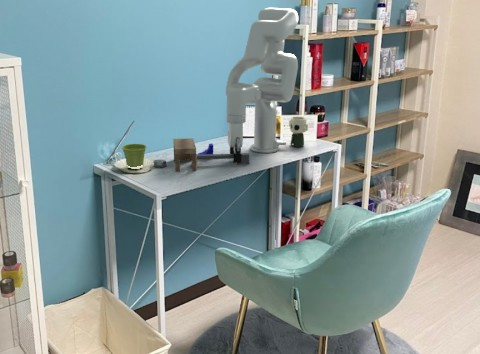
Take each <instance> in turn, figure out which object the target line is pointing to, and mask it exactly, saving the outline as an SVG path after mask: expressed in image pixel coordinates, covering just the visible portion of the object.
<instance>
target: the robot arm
mask: <svg viewBox="0 0 480 354" xmlns="http://www.w3.org/2000/svg"><path fill="white" fill-rule="evenodd" d="M298 22H299V15H298V12H297V11H296V10H295V9H292V8H279V7H267V8H262V9H260V10H259V11H258V17H257V20H256V21H254V22H252V24H251V25H250V30H249V32H248V33H249V34H248V37H247V41H246V47H245V50H244V55H243V57H241V58H240V59H239V60H238V62H236V63H235V65H234V66H233V67H232V69H230V72H229V74H228V78H227V81H226V86H225V95H226V123H228V124H227V125H228V126H227V145H228V146H229V154H233V159H232V160H233V161H232V162H233V164H237V163H241V156H242V153H243V152H242V148H243V144H244V140H243V139H244V138H243V137H244V127H243V126H244V124H245V123H246V122H247V121H246V117H247V113H246V111H247V109H246V108H247V104H254V129H253V130H254V131H253V133H254V134H253V135H254V136H253V143H252V144H251V145H250V147H249V148H250V150H251V151H253V152H256V153H261V154H262V153H263V154H266V153H267V154H269V153H275V152H278V151H279V149H280V148H279V146H287V141H286V140H282V139H281V140H280V139H279V140H277V137H276V136H277V115H278V114H277V111H278V110H277V106H276V104H275V102H276V103H277V102H279V103H288V102H290V101H291V100H292V98H293V95H294V91H295V87H296V81H297V80H296V79H297V75H298V69H299V63H298V62H299V61H298V58H297V57H296V56H295V54H292V53H288V52H287V53H286V52H284V50H285V44H286V43H285V40H286V39H287V38H288V36H290V35H291V33H293V32H294V30H295V29H296V27H297V26H298ZM259 65H260V69H261V71H262V73H263V74H266V75H270V76H279V77H282V78H276V77H274V78H273V77H267V76H266V77H258V78H257V79H256V80H255V81H253V82H254V83H244V82H240V79H241V77H242V76H243V74H244V73H245V72H246V71H248V70H250V69H252V68H254V67H256V66H259Z"/></svg>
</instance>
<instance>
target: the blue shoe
mask: <svg viewBox="0 0 480 354" xmlns="http://www.w3.org/2000/svg"><path fill="white" fill-rule="evenodd" d="M204 154H214V143H208V146H207V149H205V150H204V151H202V152H197V153H196V155H204Z"/></svg>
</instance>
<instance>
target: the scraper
mask: <svg viewBox="0 0 480 354" xmlns="http://www.w3.org/2000/svg"><path fill="white" fill-rule="evenodd" d="M241 153H242V156H241V163H236V165H250V153H249V152H248V153H246V152H244V153H243V152H241ZM226 159H227V160H228V159H229V160H233V154H230V153H213V154H204V155H196V168H198V161H199V160H203V161H204V160H205V161H206V160H226Z"/></svg>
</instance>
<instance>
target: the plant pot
mask: <svg viewBox="0 0 480 354" xmlns="http://www.w3.org/2000/svg"><path fill="white" fill-rule="evenodd" d="M121 149H122V150H123V151H122V152H123V153H124V158H125V162H126V163H125V164H126V166H127V165H128V166H130V167H137V166H141V165H143V166H144V162H145V152H146V149H147V145H145V144H143V143H130V144H129V143H128V144H125V145H122V146H121Z"/></svg>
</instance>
